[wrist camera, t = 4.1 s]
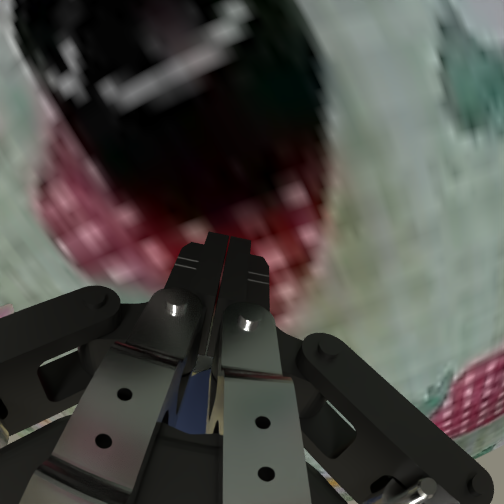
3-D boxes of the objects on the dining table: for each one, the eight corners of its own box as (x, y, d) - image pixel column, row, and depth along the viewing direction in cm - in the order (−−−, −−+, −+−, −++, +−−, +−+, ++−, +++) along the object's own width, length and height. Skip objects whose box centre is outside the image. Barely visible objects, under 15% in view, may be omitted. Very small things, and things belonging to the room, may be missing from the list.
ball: (276, 465, 16) (275, 377, 18) (279, 478, 11) (277, 356, 14) (182, 462, 16) (185, 376, 19) (150, 470, 11) (156, 355, 14)
